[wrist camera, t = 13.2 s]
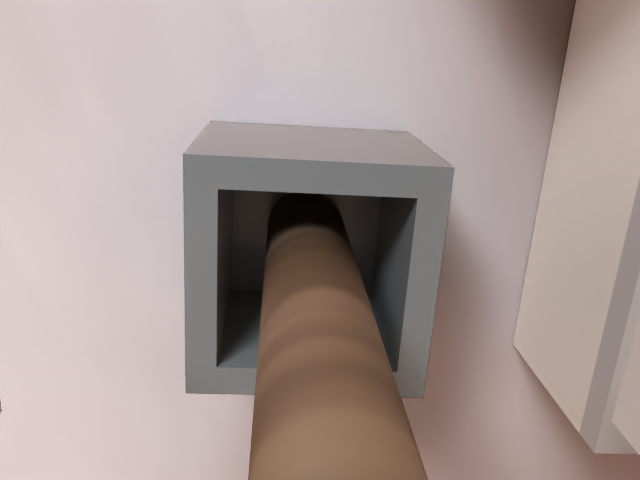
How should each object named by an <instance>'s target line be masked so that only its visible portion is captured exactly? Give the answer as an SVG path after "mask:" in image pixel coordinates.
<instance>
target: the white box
mask: <svg viewBox="0 0 640 480" xmlns="http://www.w3.org/2000/svg"><path fill="white" fill-rule="evenodd" d="M639 318H640V0H576V4H575V9H574V14H573V20H572V25H571V31H570V36H569V41H568V47H567V52H566V58H565V63H564V69H563V74H562V79H561V85H560V90H559V96H558V101H557V107H556V112H555V117H554V123H553V128H552V134H551V139H550V145H549V150H548V155H547V161H546V166H545V172H544V177H543V183H542V188H541V193H540V199H539V204H538V210H537V215H536V221H535V226H534V231H533V237H532V242H531V248H530V253H529V259H528V264H527V269H526V275H525V280H524V286H523V291H522V297H521V302H520V307H519V313H518V318H517V324H516V329H515V334H514V340H513V345H514V346H515V348H516V349H517V350H518V352H519V353H520V354H521V356H522V357H523V358H524V360H525V361H526V362H527V364H528V365H529V366H530V368H531V369H532V370H533V372H534V373H535V375H536V376H537V377H538V379H539V380H540V381H541V383H542V384H543V385H544V387H545V388H546V389H547V391H548V392H549V393H550V395H551V396H552V397H553V399H554V400H555V401H556V403H557V404H558V405H559V407H560V408H561V410H562V411H563V412H564V414H565V415H566V416H567V418H568V419H569V420H570V422H571V423H572V424H573V426H574V427H575V428H576V430H577V431H578V432H579V434H580V435H581V436H582V438H583V439H584V441H585V442H586V443H587V445H588V446H589V447H590V449H591V450H592V451H593V453H594V454H638V453H637V452H636V450H635V449H634V448H633V447H632V446H631V444H630V443H629V442H628V441H627V440H626V438H625V437H624V436H623V435H622V433H621V432H620V431H619V430H618V429H617V427H616V426H615V425H614V424H613V422H612V421H611V420H612V417H613V413H614V409H615V406H616V402H617V398H618V395H619V391H620V387H621V384H622V380H623V376H624V373H625V369H626V365H627V362H628V358H629V354H630V351H631V347H632V343H633V340H634V336H635V332H636V329H637V325H638V321H639Z"/></svg>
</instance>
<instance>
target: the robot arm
mask: <svg viewBox="0 0 640 480" xmlns="http://www.w3.org/2000/svg"><path fill="white" fill-rule="evenodd" d="M1 411H2V409H1V402H0V413H1ZM611 421H612V422H613V424H614V425H615V426H616V427H617V429H618V430H619V431H620V432H621V433H622V435H623V436H624V437H625V438H626V440H627V441H628V442H629V443H630V444H631V446H632V447H633V448H634V449H635V450H636V452H637V453H638V454H639V455H640V318H639V321H638V325H637V329H636V332H635V336H634V340H633V343H632V347H631V351H630V354H629V358H628V362H627V365H626V369H625V373H624V376H623V380H622V384H621V387H620V391H619V395H618V398H617V402H616V406H615V409H614V413H613V417H612V420H611Z"/></svg>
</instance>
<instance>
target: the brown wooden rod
mask: <svg viewBox="0 0 640 480" xmlns="http://www.w3.org/2000/svg"><path fill="white" fill-rule="evenodd" d="M248 480H428V479H427V476H426V473H425V470H424V466H423V463H422V460H421V457H420V454H419V451H418V448H417V445H416V442H415V439H414V436H413V433H412V430H411V427H410V424H409V421H408V418H407V415H406V412H405V409H404V406H403V402H402V399H401V396H400V393H399V390H398V387H397V384H396V381H395V378H394V375H393V372H392V369H391V366H390V363H389V360H388V357H387V354H386V351H385V348H384V345H383V342H382V338H381V335H380V332H379V329H378V326H377V323H376V320H375V317H374V314H373V311H372V308H371V305H370V302H369V299H368V296H367V293H366V290H365V287H364V284H363V281H362V278H361V274H360V271H359V268H358V265H357V262H356V259H355V256H354V253H353V250H352V247H351V244H350V241H349V238H348V235H347V232H346V229H345V226H344V223H343V220H342V217H341V214H340V211H339V209H338V208H337V206H336V205H335V204H334V202H333V201H332V200H330V199H329V198H328V197H326V196H325V195H323V194H313V193H291V194H288V195H286V196H285V197H283V198H282V199H281V200H279V201H278V203H277V204H276V205H275V206H274V207H273V209H272V211H271V213H270V216H269V220H268V229H267V242H266V255H265V268H264V281H263V294H262V308H261V321H260V334H259V347H258V360H257V373H256V386H255V399H254V412H253V425H252V438H251V451H250V464H249V477H248Z"/></svg>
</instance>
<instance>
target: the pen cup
mask: <svg viewBox="0 0 640 480" xmlns="http://www.w3.org/2000/svg"><path fill="white" fill-rule="evenodd" d="M453 174H454V167H453V166H452V165H451V164H449V163H448V162H447V161H446V160H444V159H443V158H442V157H440V156H439V155H438V154H436V153H435V152H434V151H433V150H431V149H430V148H429V147H427V146H426V145H425V144H424V143H422V142H421V141H420V140H418V139H417V138H416V137H415V136H413V135H412V134H411V133H409V132H404V131H386V130H367V129H349V128H330V127H312V126H293V125H275V124H256V123H238V122H219V121H210V123H209V124H208V125H207V126H206V127H205V128H204V130H203V131H202V132H201V133H200V134H199V136H198V137H197V138H196V139H195V140H194V141H193V143H192V144H191V145H190V146H189V147H188V149H187V150H186V151H185V152H184V153H183V192H184V283H185V374H186V393H197V394H245V395H255V386H256V373H257V360H258V347H259V334H260V321H261V308H262V294H263V281H264V268H265V255H266V242H267V229H268V220H269V216H270V213H271V211H272V209H273V207H274V206H275V205H276V204H277V203H278V201H279V200H281V199H282V198H283V197H285V196H286V195H288V194H291V193H313V194H323V195H325V196H326V197H328V198H329V199H330V200H332V201H333V202H334V204H335V205H336V206H337V208H338V209H339V211H340V214H341V217H342V220H343V223H344V226H345V229H346V232H347V235H348V238H349V241H350V244H351V247H352V250H353V253H354V256H355V259H356V262H357V265H358V268H359V271H360V274H361V278H362V281H363V284H364V287H365V290H366V293H367V296H368V299H369V302H370V305H371V308H372V311H373V314H374V317H375V320H376V323H377V326H378V329H379V332H380V335H381V338H382V342H383V345H384V348H385V351H386V354H387V357H388V360H389V363H390V366H391V369H392V372H393V375H394V378H395V381H396V384H397V387H398V390H399V393H400V396H401V398H423V396H424V389H425V381H426V374H427V367H428V359H429V352H430V344H431V337H432V330H433V322H434V315H435V308H436V300H437V293H438V285H439V278H440V271H441V263H442V256H443V248H444V241H445V234H446V226H447V219H448V211H449V204H450V197H451V189H452V182H453Z"/></svg>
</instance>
